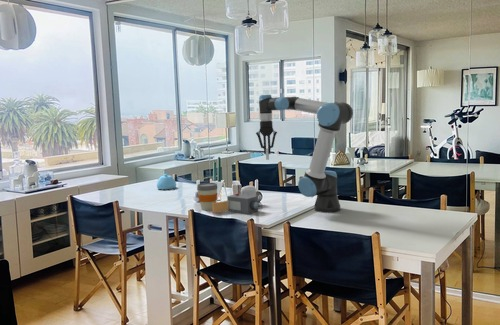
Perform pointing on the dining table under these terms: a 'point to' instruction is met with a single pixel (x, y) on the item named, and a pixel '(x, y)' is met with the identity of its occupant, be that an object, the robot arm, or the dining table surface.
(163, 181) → the sugar bowl
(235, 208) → the camera body
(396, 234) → the dining table surface
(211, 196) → the reusable coffee cup
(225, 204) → the side door
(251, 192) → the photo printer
